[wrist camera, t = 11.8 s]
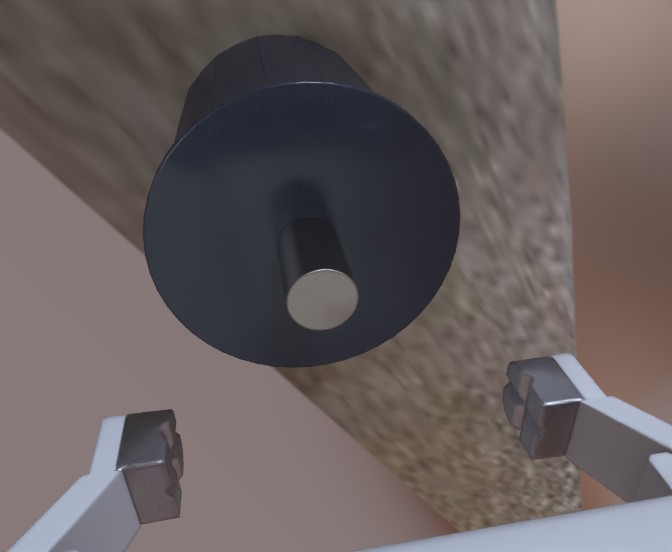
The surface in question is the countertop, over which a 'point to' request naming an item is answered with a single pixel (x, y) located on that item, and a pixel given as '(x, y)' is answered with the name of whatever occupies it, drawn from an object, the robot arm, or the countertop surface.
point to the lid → (301, 223)
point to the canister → (262, 71)
